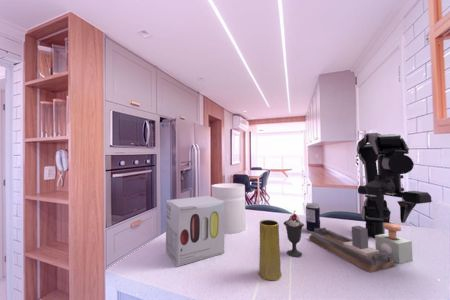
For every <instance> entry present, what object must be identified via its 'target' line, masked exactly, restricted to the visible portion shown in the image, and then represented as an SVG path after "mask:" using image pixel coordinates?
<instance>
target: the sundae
mask: <svg viewBox="0 0 450 300" xmlns="http://www.w3.org/2000/svg"><path fill="white" fill-rule="evenodd" d="M283 225H284V226H285V228H286V235H287V240H289V242H290V243H291V244H292V246H291V247H292V248H291V249H289V250H287V251H286V254H287V255H288V256H289V257H292V258H301V257H302V256H303V253H302V252H301V251H299V250H298V249H297V244H298V243H299V242H301V237H302V236H301V235H302V230H303V227H304V226H305V224H304V223H303V222H302V221H301V220H300V217H299V216H298V215H297V214H296V210H294V212H293V213H292V215H290V216H289V218H288V220H285V221H284V222H283Z"/></svg>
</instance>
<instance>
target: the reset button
mask: <svg viewBox="0 0 450 300" xmlns="http://www.w3.org/2000/svg"><path fill="white" fill-rule="evenodd" d="M383 226H384V229H385V230H388V234H389V239H391V240H394V241H395V240H397V237H398V235H397V232H401V231H402V226H401V225H400V224H395V223H390V222H389V223H387V222H384V224H383Z"/></svg>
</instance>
